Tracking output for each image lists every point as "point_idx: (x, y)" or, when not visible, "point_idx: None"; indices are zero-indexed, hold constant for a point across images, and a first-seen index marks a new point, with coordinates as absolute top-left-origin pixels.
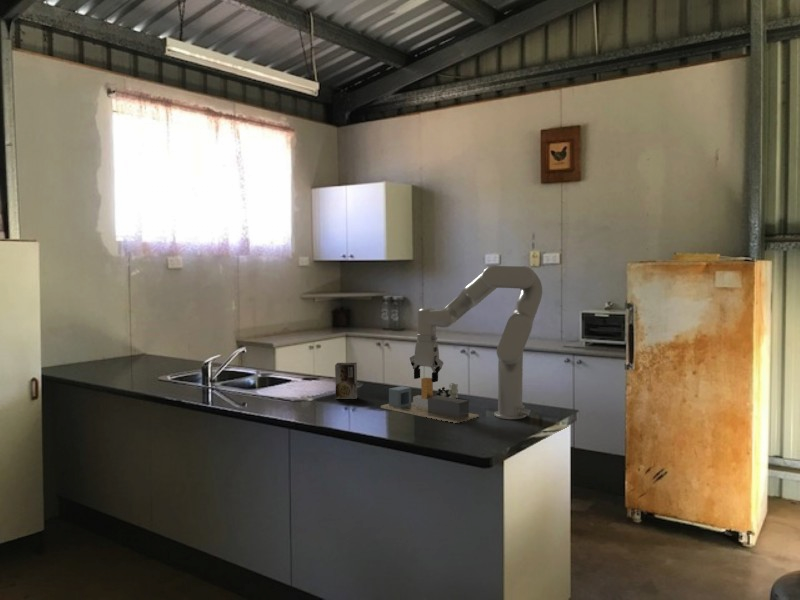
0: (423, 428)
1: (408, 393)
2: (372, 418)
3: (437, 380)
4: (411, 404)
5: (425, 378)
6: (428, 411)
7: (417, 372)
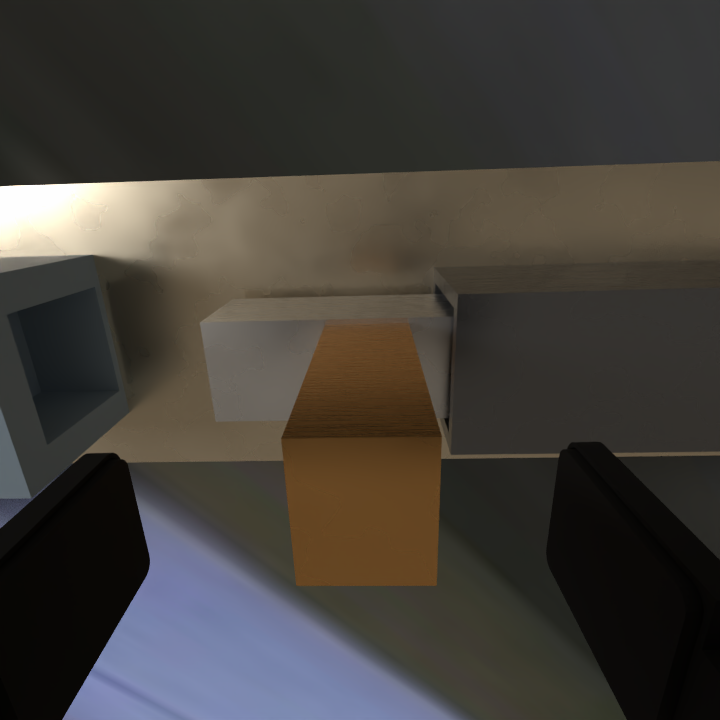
0: None
1: (19, 309)
2: (240, 646)
3: (599, 457)
4: (115, 272)
5: (342, 535)
6: None
7: (70, 622)
